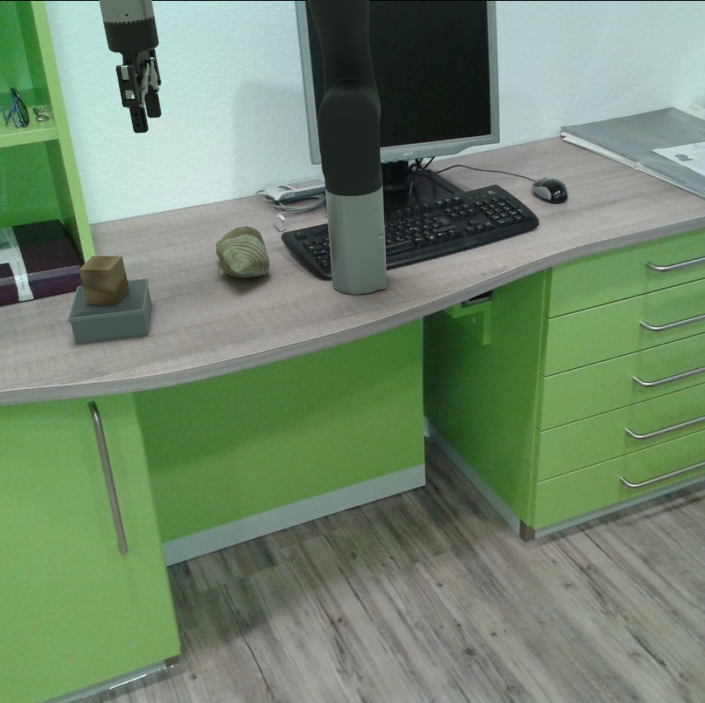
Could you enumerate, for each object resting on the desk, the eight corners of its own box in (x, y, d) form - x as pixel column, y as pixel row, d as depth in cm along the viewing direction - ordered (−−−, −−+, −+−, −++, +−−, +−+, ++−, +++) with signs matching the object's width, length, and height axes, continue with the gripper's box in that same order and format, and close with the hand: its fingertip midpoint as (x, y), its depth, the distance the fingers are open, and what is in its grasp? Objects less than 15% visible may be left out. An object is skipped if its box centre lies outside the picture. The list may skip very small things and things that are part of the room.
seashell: (198, 235, 150) (230, 201, 144) (241, 251, 155) (272, 219, 150) (206, 297, 142) (239, 263, 136) (250, 311, 148) (284, 280, 142)
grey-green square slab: (153, 305, 140) (148, 278, 137) (149, 338, 130) (143, 309, 127) (84, 313, 138) (77, 286, 136) (75, 346, 129) (67, 318, 126)
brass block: (129, 290, 133) (122, 256, 130) (117, 304, 129) (109, 270, 126) (100, 289, 134) (92, 256, 131) (87, 304, 130) (78, 269, 127)
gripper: (140, 22, 116) (161, 136, 124) (164, 6, 128) (181, 111, 137) (88, 25, 117) (112, 139, 125) (116, 8, 129) (136, 113, 137)
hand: (148, 124), depth 131 cm, fingers open, 8 cm apart
